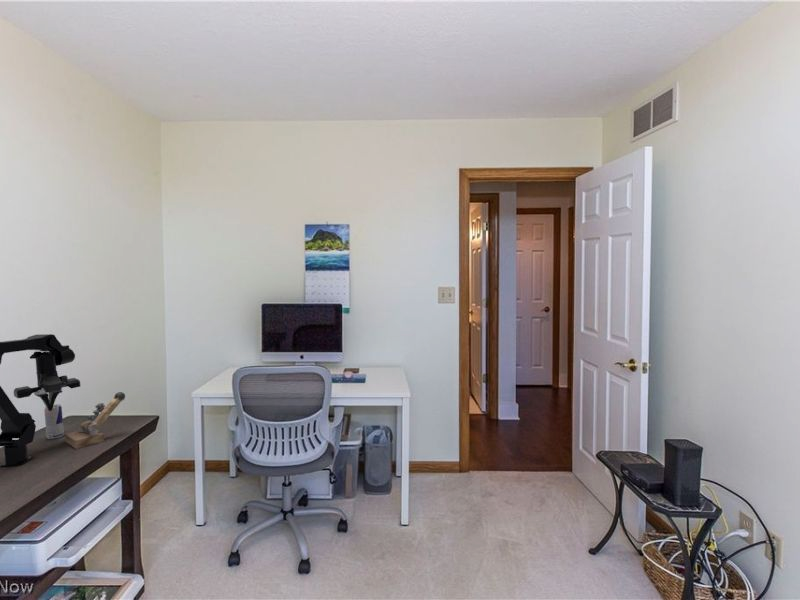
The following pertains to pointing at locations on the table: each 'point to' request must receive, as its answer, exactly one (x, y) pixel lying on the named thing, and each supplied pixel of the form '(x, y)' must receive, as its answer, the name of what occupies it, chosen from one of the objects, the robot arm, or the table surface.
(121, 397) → the lever
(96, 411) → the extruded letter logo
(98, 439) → the press bench
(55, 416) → the energy drink
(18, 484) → the table surface
